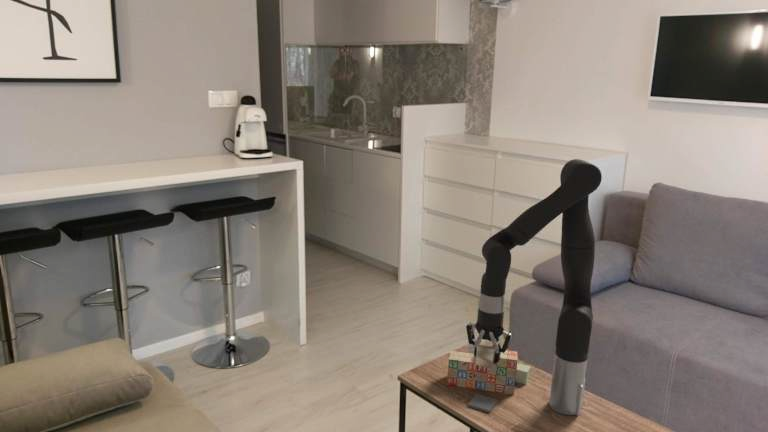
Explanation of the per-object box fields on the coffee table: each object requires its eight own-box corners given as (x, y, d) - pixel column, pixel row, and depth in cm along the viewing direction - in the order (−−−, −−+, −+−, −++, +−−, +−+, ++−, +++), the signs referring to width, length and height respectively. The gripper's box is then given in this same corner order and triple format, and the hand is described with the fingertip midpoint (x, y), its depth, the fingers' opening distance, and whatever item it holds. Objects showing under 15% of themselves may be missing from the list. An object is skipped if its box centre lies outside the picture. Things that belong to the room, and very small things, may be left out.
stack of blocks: (446, 385, 188) (448, 350, 185) (448, 375, 194) (451, 341, 191) (514, 395, 184) (517, 359, 181) (514, 385, 190) (517, 350, 187)
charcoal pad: (497, 402, 180) (497, 399, 179) (489, 413, 174) (490, 410, 173) (475, 395, 183) (475, 393, 183) (467, 406, 177) (467, 403, 177)
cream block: (497, 361, 176) (498, 343, 174) (491, 368, 172) (493, 350, 170) (481, 357, 178) (482, 339, 177) (475, 364, 174) (477, 345, 172)
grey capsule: (480, 363, 203) (482, 348, 201) (476, 368, 199) (478, 352, 198) (469, 360, 205) (471, 345, 203) (465, 365, 201) (466, 349, 200)
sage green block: (529, 378, 194) (530, 366, 193) (525, 384, 191) (527, 372, 189) (516, 375, 196) (517, 362, 195) (512, 381, 193) (513, 368, 191)
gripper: (519, 308, 170) (513, 361, 175) (472, 297, 177) (468, 349, 181) (511, 317, 164) (506, 372, 168) (463, 306, 171) (459, 359, 175)
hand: (486, 360), depth 175 cm, fingers closed on cream block, 5 cm apart
